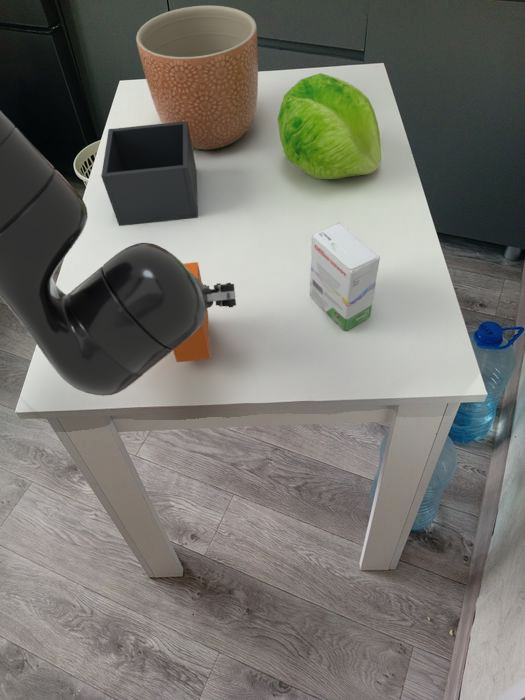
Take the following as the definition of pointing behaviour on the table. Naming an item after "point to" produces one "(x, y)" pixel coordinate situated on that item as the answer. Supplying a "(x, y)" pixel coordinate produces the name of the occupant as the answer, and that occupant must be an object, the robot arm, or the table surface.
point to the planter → (202, 71)
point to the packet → (199, 341)
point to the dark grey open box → (150, 173)
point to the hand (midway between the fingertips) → (185, 296)
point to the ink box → (343, 275)
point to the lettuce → (329, 128)
